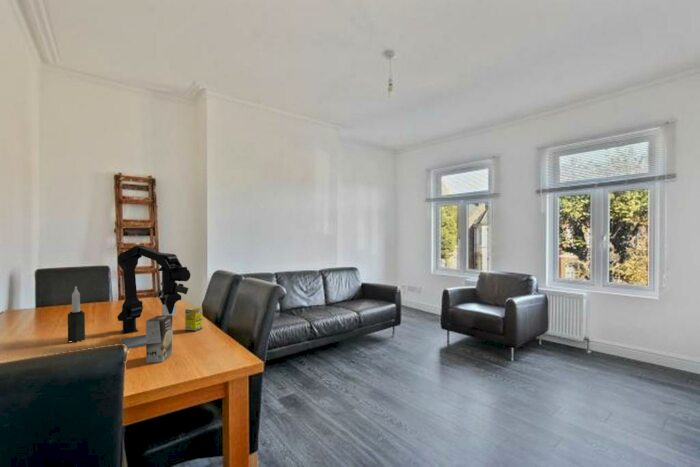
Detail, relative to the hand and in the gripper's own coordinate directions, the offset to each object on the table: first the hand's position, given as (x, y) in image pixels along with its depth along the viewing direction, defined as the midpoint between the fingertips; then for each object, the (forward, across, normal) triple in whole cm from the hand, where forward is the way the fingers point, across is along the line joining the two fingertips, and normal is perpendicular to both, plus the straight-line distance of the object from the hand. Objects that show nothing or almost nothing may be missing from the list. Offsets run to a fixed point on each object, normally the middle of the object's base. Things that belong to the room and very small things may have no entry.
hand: (169, 313), depth 168 cm
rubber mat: (+11, -2, +12) cm, 16 cm away
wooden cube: (+1, 0, 0) cm, 1 cm away
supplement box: (+11, +2, -12) cm, 17 cm away
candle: (+11, +20, +34) cm, 41 cm away
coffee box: (+11, -30, +11) cm, 34 cm away
